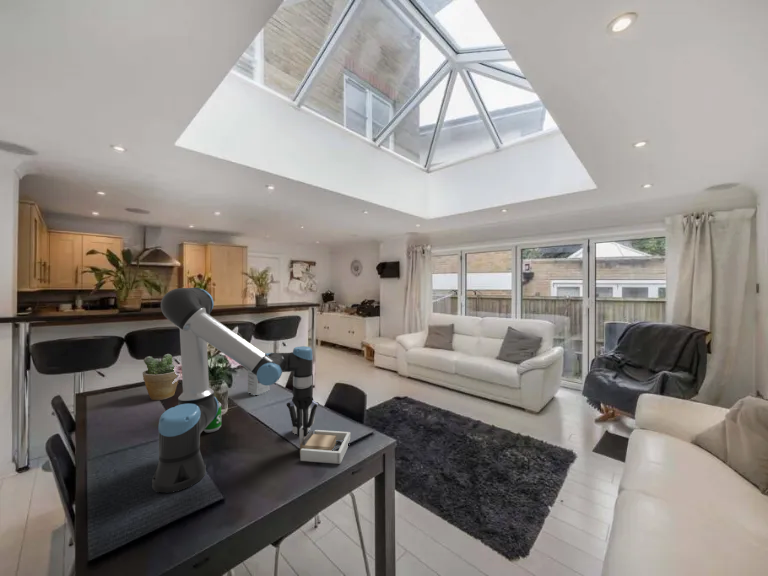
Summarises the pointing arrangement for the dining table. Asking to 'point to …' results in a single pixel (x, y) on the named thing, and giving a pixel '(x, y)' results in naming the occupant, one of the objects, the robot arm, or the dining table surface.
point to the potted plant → (160, 377)
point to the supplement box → (255, 384)
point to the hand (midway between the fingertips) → (302, 443)
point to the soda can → (215, 422)
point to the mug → (294, 429)
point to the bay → (327, 455)
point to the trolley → (318, 442)
